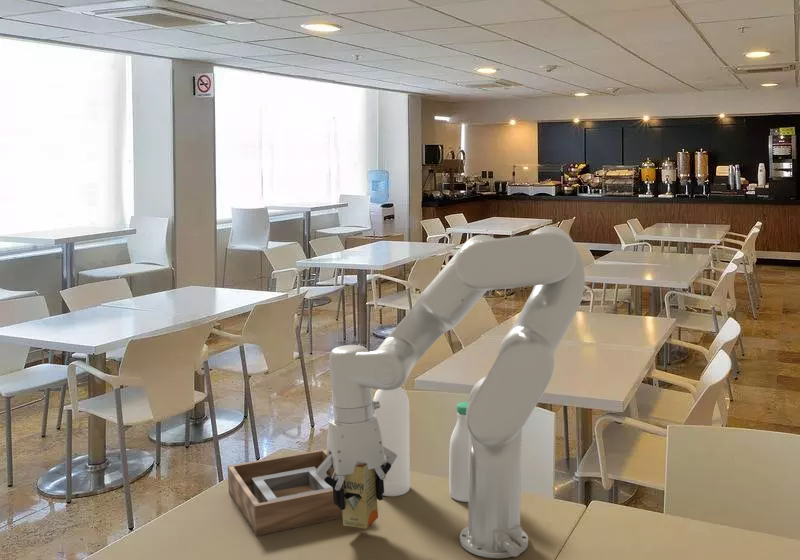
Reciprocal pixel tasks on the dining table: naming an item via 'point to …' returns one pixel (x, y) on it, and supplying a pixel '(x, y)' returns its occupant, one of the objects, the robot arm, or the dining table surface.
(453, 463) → the milk bottle
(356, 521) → the shoe polish box
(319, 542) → the dining table surface
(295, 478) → the walnut crate
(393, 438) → the bottle
